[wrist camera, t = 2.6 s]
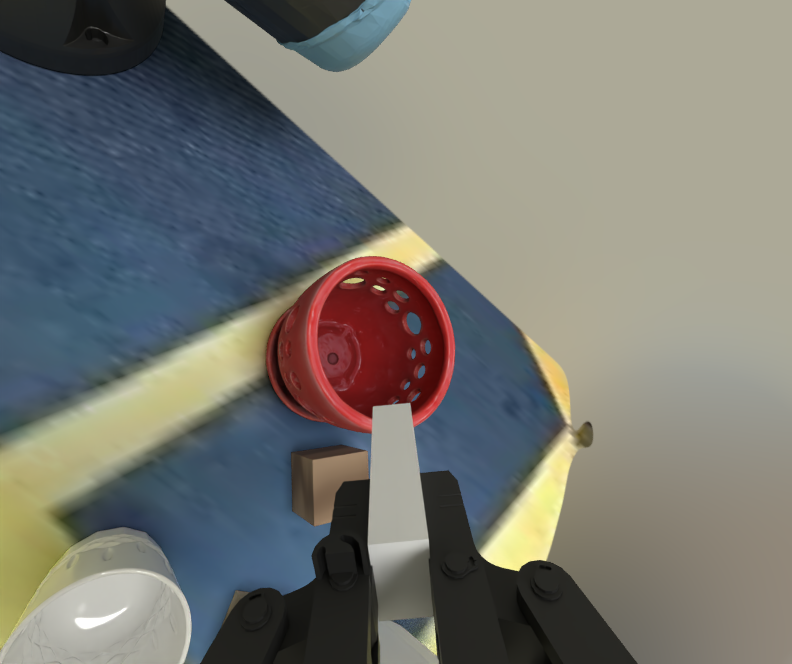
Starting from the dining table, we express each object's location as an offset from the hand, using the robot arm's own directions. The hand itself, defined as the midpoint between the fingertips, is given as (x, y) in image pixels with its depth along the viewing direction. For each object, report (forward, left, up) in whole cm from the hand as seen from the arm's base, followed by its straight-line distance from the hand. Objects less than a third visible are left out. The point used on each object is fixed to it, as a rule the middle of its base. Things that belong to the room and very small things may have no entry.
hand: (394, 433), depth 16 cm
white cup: (+13, -7, -22) cm, 26 cm away
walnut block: (+5, +7, -22) cm, 23 cm away
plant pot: (-6, +5, -22) cm, 23 cm away
